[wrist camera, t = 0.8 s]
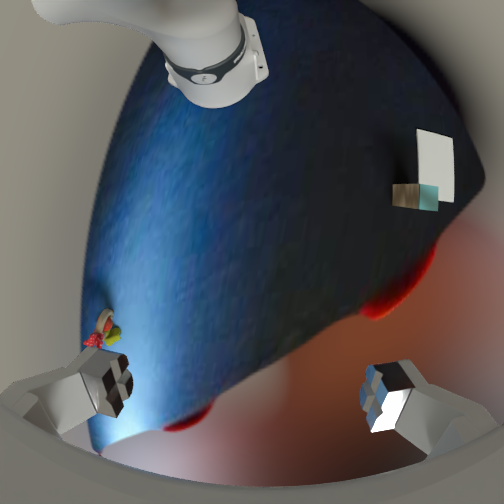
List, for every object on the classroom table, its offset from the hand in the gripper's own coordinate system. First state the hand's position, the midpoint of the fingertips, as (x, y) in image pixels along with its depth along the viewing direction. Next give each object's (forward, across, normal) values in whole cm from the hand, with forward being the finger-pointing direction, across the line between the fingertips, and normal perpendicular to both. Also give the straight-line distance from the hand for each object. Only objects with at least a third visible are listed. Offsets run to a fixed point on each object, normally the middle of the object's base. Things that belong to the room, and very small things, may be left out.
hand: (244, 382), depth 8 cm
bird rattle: (+41, +32, +21) cm, 56 cm away
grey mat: (+41, -36, -14) cm, 56 cm away
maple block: (+41, -27, -7) cm, 49 cm away
